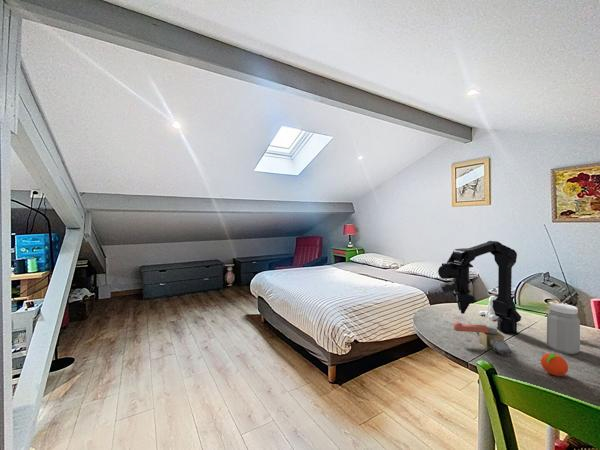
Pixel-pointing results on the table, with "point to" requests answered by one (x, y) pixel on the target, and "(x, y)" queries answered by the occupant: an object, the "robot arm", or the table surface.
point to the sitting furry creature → (490, 309)
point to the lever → (473, 328)
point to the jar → (563, 328)
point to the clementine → (554, 364)
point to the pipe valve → (494, 342)
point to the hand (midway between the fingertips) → (461, 311)
